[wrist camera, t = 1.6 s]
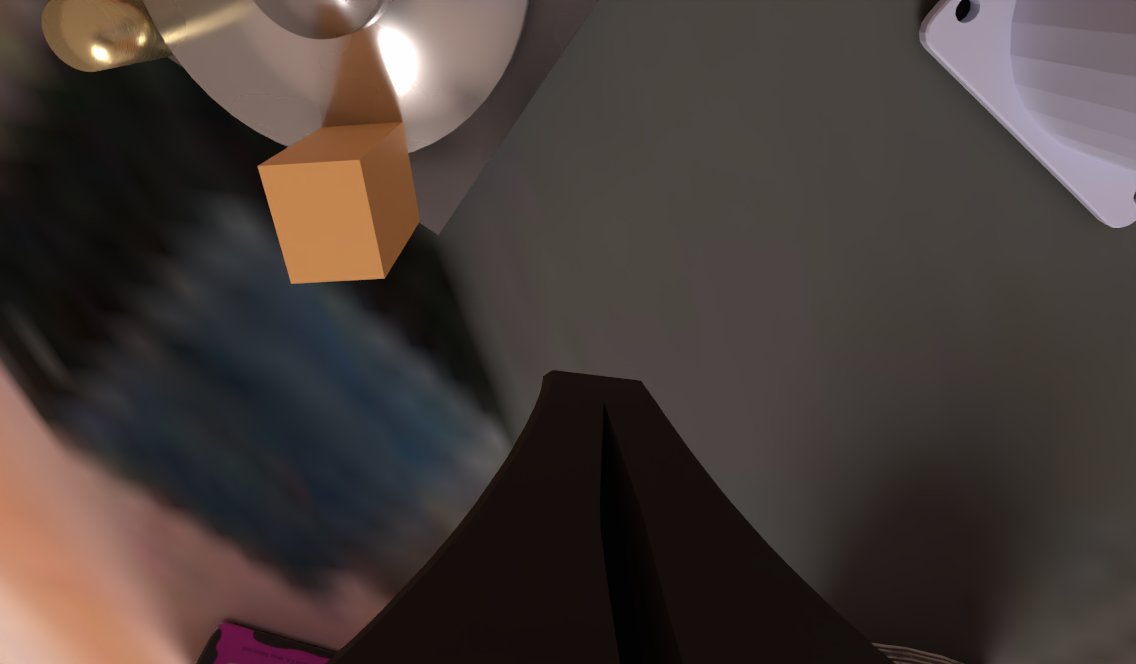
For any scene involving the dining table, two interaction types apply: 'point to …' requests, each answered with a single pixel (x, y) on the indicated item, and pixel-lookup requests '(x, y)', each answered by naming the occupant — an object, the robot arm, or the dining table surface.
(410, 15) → the flange plate
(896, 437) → the dining table surface
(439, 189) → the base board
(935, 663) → the lighter
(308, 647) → the candy bar box
